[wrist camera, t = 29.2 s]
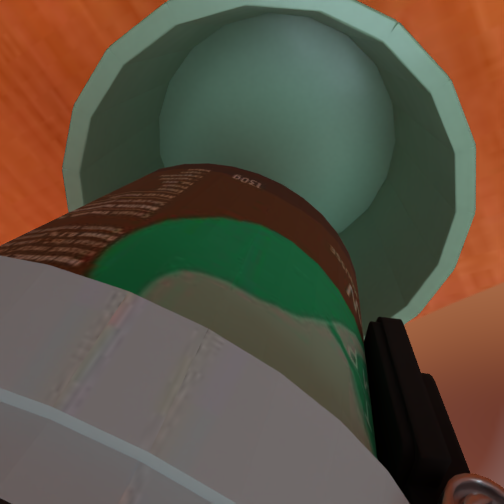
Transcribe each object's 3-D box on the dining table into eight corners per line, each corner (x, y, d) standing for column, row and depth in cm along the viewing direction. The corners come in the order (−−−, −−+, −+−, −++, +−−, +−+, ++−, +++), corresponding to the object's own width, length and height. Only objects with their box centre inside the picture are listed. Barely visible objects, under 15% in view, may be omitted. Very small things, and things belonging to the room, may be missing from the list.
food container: (423, 410, 15) (502, 915, 7) (264, 416, 17) (170, 807, 9) (353, 50, 10) (308, 249, 2) (139, 120, 12) (-375, 369, 4)
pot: (156, 271, 35) (94, 382, 24) (142, -69, 24) (13, -144, 13) (366, 295, 34) (399, 422, 23) (452, -44, 23) (591, -103, 12)
